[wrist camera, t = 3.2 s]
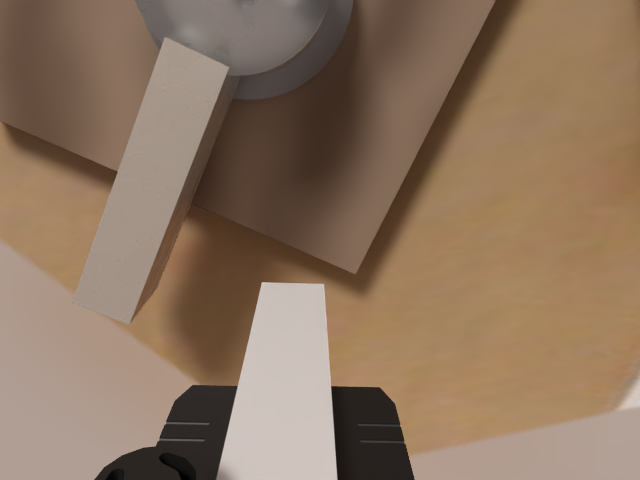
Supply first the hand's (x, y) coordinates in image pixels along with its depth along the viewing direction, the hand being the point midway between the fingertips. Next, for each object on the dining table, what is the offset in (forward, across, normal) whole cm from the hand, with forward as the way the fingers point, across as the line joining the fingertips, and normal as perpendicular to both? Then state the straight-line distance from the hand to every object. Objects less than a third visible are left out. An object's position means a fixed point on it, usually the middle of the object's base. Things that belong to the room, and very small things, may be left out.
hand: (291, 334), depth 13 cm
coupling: (+12, +5, -5) cm, 14 cm away
